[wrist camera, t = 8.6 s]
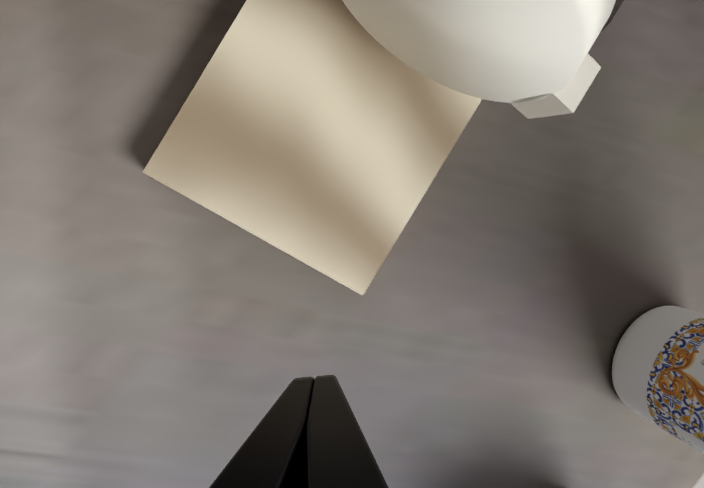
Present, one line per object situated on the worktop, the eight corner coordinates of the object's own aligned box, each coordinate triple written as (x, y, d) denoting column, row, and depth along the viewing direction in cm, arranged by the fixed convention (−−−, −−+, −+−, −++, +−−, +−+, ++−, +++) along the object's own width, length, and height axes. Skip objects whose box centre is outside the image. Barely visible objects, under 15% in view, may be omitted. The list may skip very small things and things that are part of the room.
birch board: (355, 289, 20) (371, 304, 18) (146, 171, 16) (136, 173, 14) (547, -26, 20) (585, -47, 18) (378, -211, 16) (401, -264, 14)
